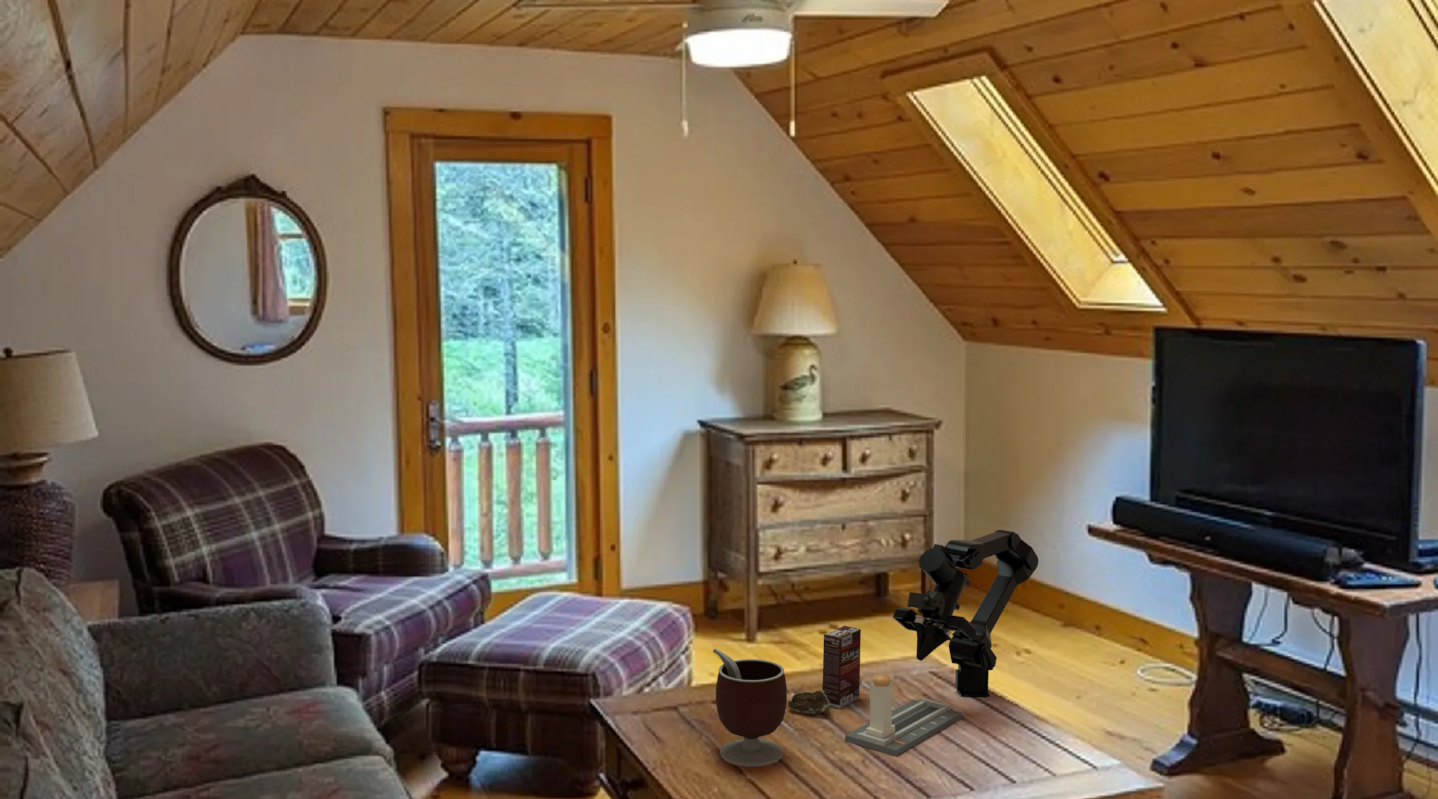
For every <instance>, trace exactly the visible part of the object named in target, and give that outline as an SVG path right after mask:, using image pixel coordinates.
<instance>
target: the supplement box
mask: <svg viewBox="0 0 1438 799" xmlns="http://www.w3.org/2000/svg"><path fill="white" fill-rule="evenodd" d="M861 630H862V629H861V628H857V627H853V626H850V625H849V626H847V625H842V627H839V628H837V629H834V630H831V631H830V632H827V633H824V634H823V647H822V648H823V649H822V650H823V655H822V656H823V657H822V658H823V659H822V660H823V661H822V663H823V664H822V690H823V691H824V692H825V694H826V696H827V699H828V700H829V702H830V704H831V705H830V706H831V707H830V706H829V707H830V708H833V707H834V708H833V709H837V708H838V709H837V710H840V709H841V708H843V707H845V706H846V705H849V704H851V703H853V702H854V700H855V701H856V700H859V699H860V683H861V682H860V681H861V679H860V678H861V676H860V675H861V673H860V672H861V639H862V638H861V637H862V635H861V634H862V633H861V632H862V631H861Z"/></svg>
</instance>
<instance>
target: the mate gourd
mask: <svg viewBox="0 0 1438 799" xmlns="http://www.w3.org/2000/svg"><path fill="white" fill-rule="evenodd" d="M712 653H714V654H716V655H717V656H718V657H719V659H720V660H721V662H722V663H723V664H721V665H720V666H719V668H718V674H717V677H716V678H717V679H716V686H715V704H716V709H717V710H716V711H717V715H718V719H719V721H720V722H721V724H722V725H723V726H724V728H725V729H726V730H727V731H728V733H731V734H733V735H735V736H738V737H742V739H736V740H732V741H729V742H726V743H725V744H723V745H722V746H721V747H720V750H719V756H720V755H721V756H720V758H721V757H722V758H723V759H724V760H723V759H722V758H721V759H722V760H723V761H725V762H726V763H728V764H731V765H735V766H739V767H745V768H746V767H747V768H749V767H750V768H754V767H755V768H756V767H766V766H769V765H772V763H773V764H775V763H777V762H778V761H780V760H781V759H782V758H781V757H783V748H782V747H781V746H780V745H778V744H777V743H775V742H773V741H770V740H766V739H761V737H765V736H769V735H771V734H773V733H775V731H776V730H777V729H778V728H779V726H780V725H781V724H782V722H783V721H784V718H785V714H786V710H787V705H788V698H787V697H788V690H787V688H788V687H787V680H786V674H785V668H784V667H783V666H782V665H781V664H779V663H777V662H773V661H770V660H765V659H758V658H757V659H753V658H751V659H750V658H747V659H746V658H745V659H737V660H734V659H732V658H731V657H730V656H729V655H728V654H726V653H724V652H722V651H721V650H718V649H717V648H713V650H712ZM779 759H780V760H779Z"/></svg>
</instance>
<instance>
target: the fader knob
mask: <svg viewBox="0 0 1438 799" xmlns="http://www.w3.org/2000/svg"><path fill="white" fill-rule="evenodd" d="M869 687H870V689H869V690H870V692H869V694H870V695H869V696H870V697H869V702H870V705H869V722H870V727H868V728H866V734H868V735H871V736H874V737H878V738H881V739H885V738H887V737H889V736H891V735H893V734H894V733H895V725H892V710H893V683H892V682H891V676H890V675H888V674H886V673H884V674H883V673H875V674H874V675H872V682H871V683H870V686H869Z"/></svg>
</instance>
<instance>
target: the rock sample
mask: <svg viewBox="0 0 1438 799" xmlns="http://www.w3.org/2000/svg"><path fill="white" fill-rule="evenodd" d="M830 705H831V704H830V702H829V700H828V699H827V696H826V694H825V692H824V691H823V689H820V690H816V691H804V692H798V693H794V694H793V695H792V697H791V699H787V707H789V709H791V710H792V711H794V712H796V713H800V712H802V713H804V712H807V713H806V714H810V713H812V714H811V715H814V716H819V715H820V713H823V712H826V709H827V708H830Z"/></svg>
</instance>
